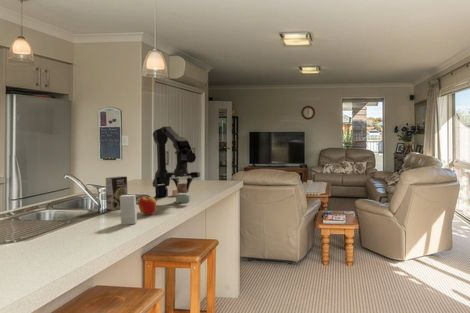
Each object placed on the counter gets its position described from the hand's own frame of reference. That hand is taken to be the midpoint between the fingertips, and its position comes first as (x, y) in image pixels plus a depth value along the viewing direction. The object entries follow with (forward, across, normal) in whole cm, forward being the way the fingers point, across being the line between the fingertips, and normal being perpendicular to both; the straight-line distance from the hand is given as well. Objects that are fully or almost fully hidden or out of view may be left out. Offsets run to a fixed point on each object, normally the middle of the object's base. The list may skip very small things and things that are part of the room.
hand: (183, 190), depth 248 cm
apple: (+6, -6, -39) cm, 40 cm away
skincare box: (+6, -7, -59) cm, 60 cm away
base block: (+6, 0, 0) cm, 6 cm away
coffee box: (+6, -29, -21) cm, 36 cm away
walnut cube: (+1, 0, 0) cm, 1 cm away
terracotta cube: (+6, -11, +22) cm, 25 cm away
